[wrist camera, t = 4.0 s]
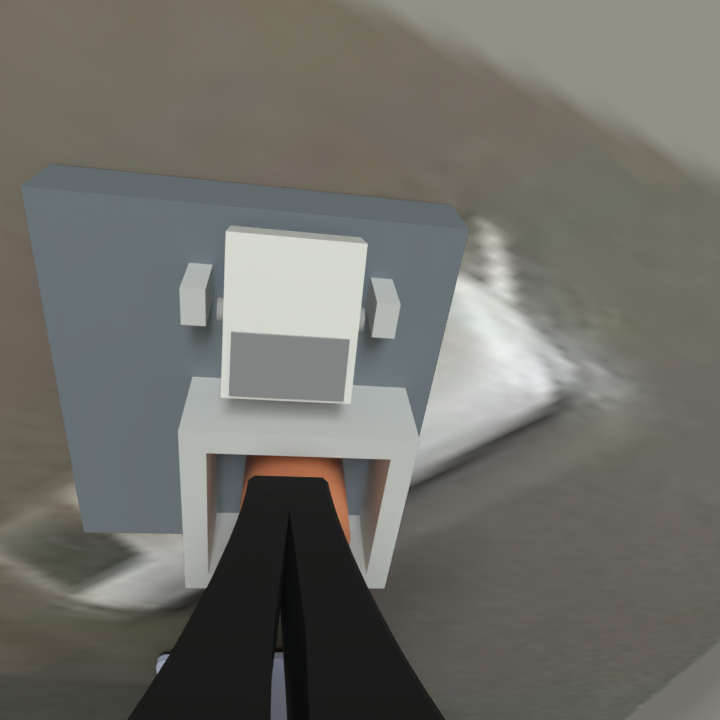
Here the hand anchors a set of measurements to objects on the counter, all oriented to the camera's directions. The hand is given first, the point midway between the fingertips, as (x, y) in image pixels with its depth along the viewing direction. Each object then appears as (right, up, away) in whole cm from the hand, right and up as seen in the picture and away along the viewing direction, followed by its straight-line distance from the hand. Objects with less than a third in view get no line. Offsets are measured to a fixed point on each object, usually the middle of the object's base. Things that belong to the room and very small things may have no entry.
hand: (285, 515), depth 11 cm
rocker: (0, +4, +4) cm, 6 cm away
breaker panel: (-2, +3, +8) cm, 9 cm away
